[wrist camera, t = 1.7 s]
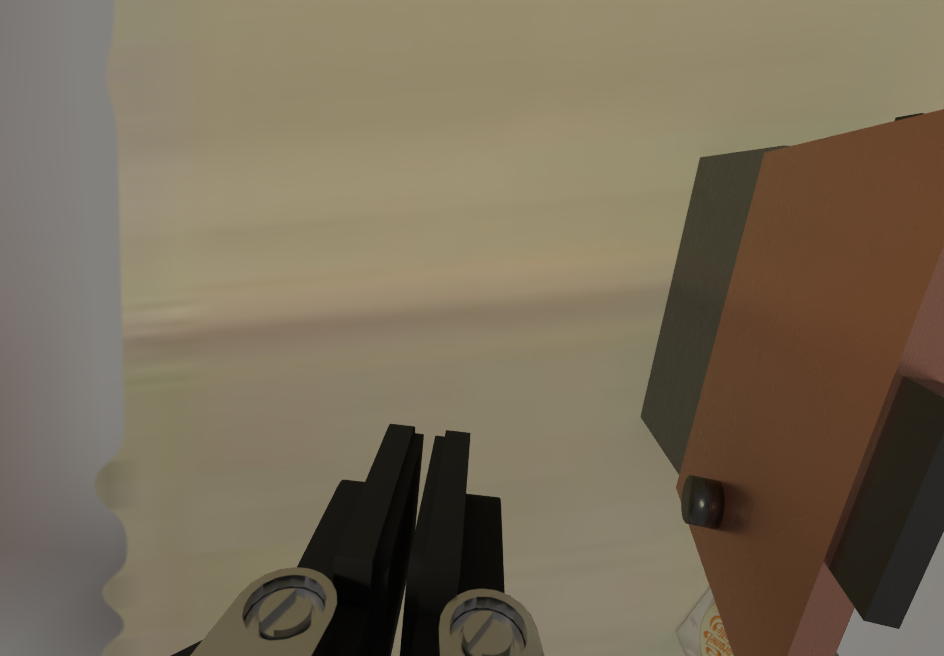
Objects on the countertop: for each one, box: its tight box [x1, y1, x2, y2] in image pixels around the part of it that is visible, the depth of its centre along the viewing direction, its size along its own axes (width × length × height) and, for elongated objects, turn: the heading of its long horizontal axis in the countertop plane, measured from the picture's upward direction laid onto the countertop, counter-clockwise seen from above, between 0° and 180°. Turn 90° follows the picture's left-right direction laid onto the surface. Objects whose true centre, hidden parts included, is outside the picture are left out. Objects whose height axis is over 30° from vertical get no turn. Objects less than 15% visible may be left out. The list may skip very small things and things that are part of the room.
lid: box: [676, 109, 944, 656], centre depth 19 cm, size 19×16×3 cm
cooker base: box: [641, 113, 923, 474], centre depth 31 cm, size 25×17×10 cm
